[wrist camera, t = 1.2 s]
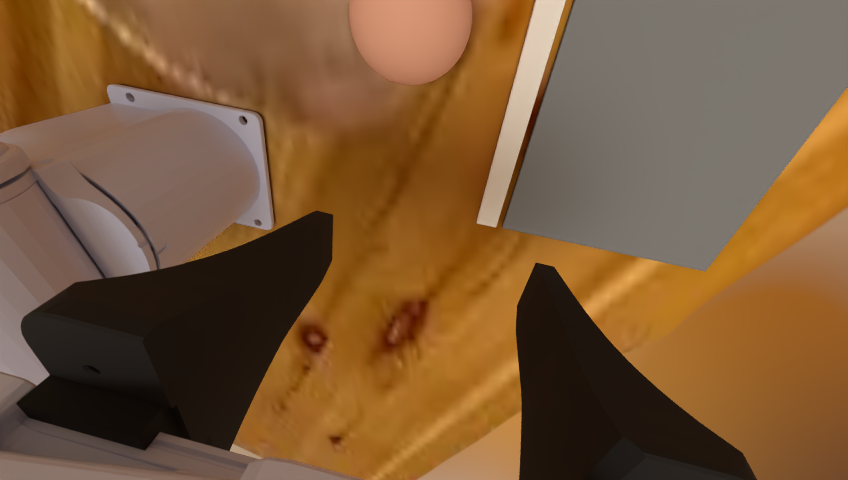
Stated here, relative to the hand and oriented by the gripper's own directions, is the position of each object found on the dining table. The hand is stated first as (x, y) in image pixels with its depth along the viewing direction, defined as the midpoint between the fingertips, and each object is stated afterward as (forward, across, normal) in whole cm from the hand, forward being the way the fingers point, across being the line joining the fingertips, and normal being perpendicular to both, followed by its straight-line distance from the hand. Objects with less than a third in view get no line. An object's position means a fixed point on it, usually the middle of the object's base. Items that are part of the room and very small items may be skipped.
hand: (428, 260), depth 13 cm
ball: (+7, +3, -7) cm, 10 cm away
